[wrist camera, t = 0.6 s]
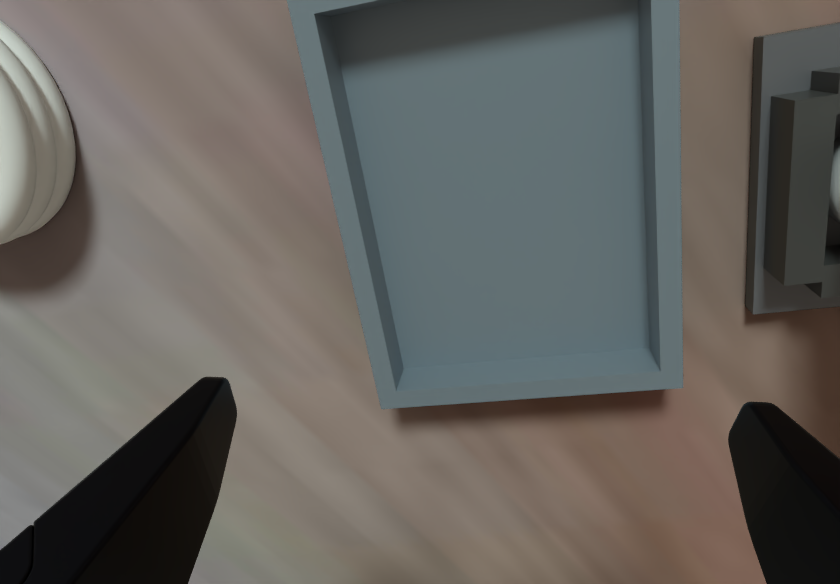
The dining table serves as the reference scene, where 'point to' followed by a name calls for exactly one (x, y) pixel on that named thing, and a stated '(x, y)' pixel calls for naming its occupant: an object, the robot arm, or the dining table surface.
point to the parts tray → (504, 190)
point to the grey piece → (793, 172)
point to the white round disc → (31, 140)
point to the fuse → (835, 183)
